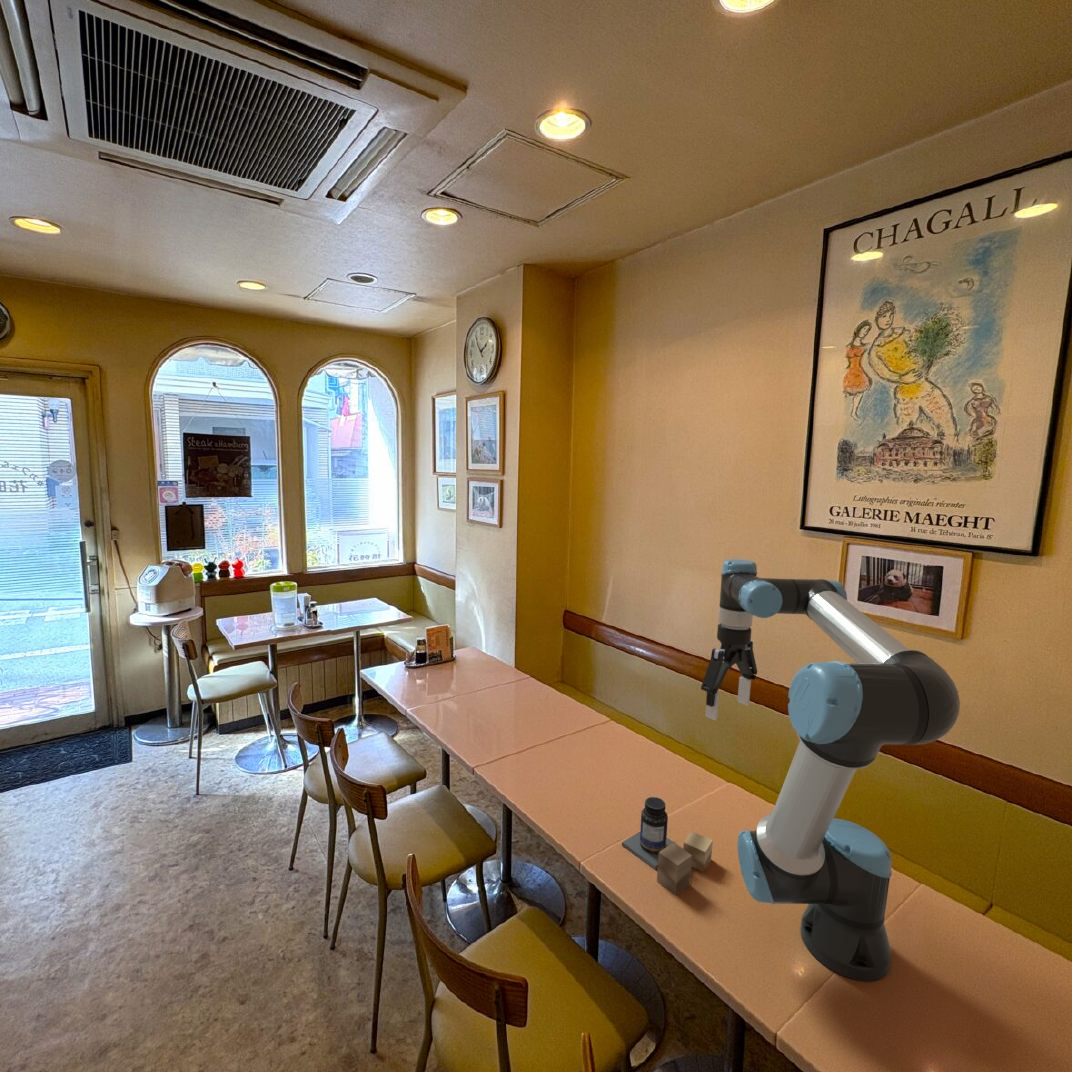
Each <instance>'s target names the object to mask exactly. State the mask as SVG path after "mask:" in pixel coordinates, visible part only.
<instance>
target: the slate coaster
mask: <svg viewBox="0 0 1072 1072" xmlns="http://www.w3.org/2000/svg"><path fill="white" fill-rule="evenodd" d="M672 843H674V844H676V845H677V846H679V847H680V848H682V849H683V847H682V846H680V845H679V844H677V843H676V842H674V841H673V840H671V839H670V838H669V837H667V838H666V847H668V846H669V845H671V844H672ZM621 846H622V847H624V849H626V850H628V851H629V852H630V853H631V854H633V855H634V856H636V857H637V858H639V859H640V860H641V861H642V862H644V863H645V864H647V866H650V867H651V868H652V869H654V870H658V856H659V853H657V854H654V853H649V852H647V851H645V850H644V849H643V848H642V847H641V845H640V831H639V832H637V833H635V834H633V835H632V836H630V837H628V838H627V839H625V840H623V841H622V842H621Z"/></svg>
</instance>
